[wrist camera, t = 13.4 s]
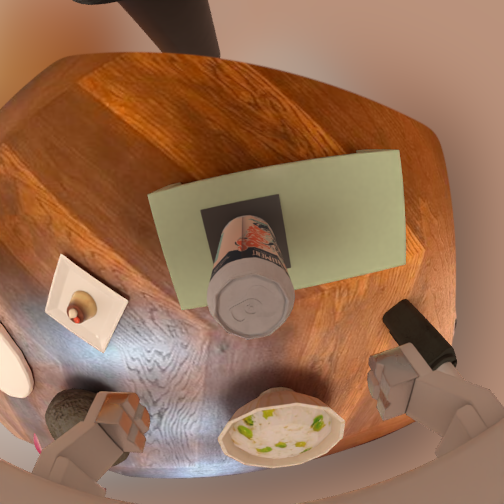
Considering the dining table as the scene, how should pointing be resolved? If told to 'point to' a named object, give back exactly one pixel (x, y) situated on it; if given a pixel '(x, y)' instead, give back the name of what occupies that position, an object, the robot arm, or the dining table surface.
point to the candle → (421, 337)
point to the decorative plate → (13, 368)
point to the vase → (69, 414)
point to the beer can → (249, 280)
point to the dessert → (84, 304)
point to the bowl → (281, 430)
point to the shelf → (289, 219)
